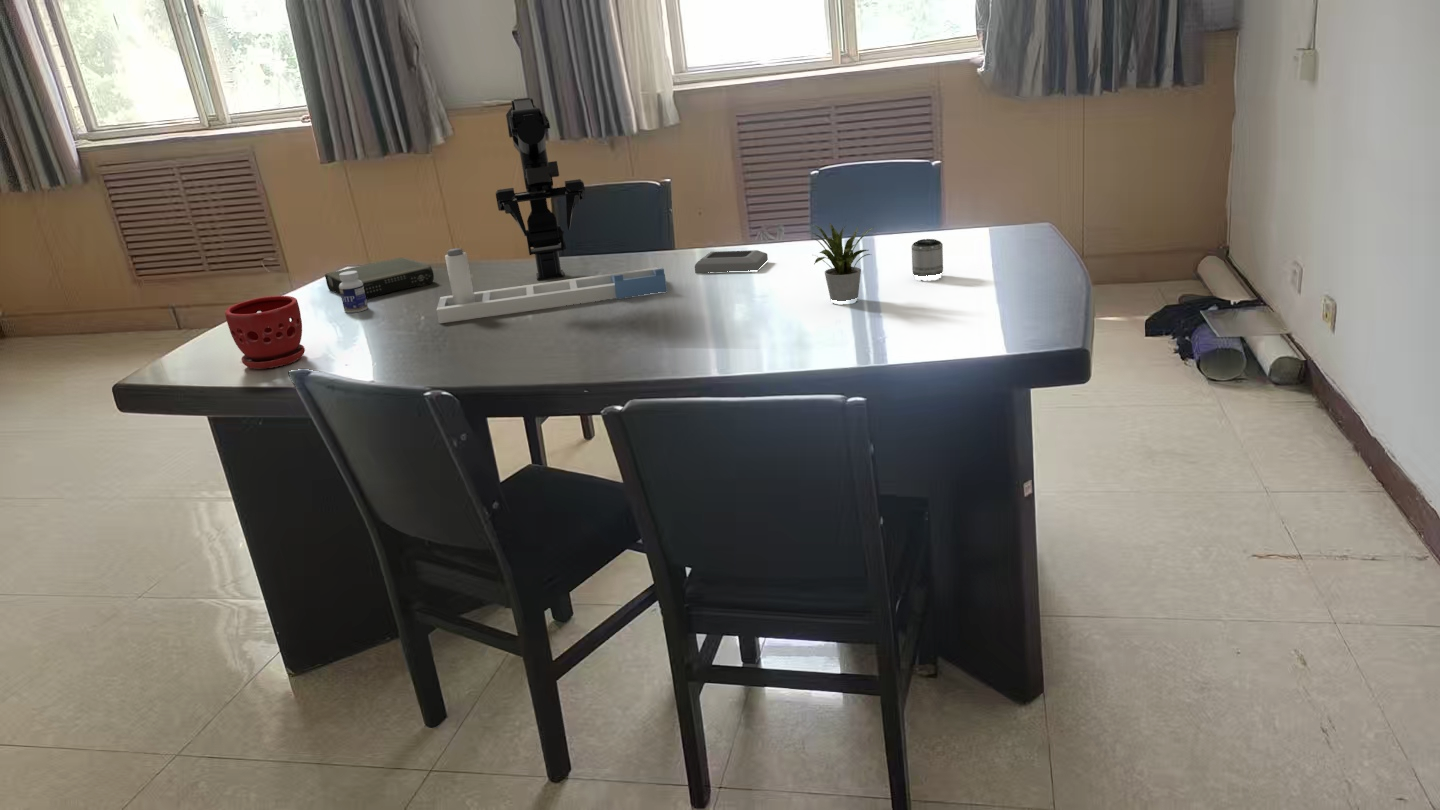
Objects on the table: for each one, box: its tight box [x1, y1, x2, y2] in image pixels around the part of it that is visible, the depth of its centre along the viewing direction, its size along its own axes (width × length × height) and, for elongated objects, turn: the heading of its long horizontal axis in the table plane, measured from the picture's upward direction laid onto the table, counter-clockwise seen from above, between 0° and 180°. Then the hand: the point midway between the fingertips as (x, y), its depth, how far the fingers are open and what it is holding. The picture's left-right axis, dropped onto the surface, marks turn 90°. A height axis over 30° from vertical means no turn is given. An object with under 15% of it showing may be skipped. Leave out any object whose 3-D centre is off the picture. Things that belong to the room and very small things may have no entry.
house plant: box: [808, 219, 876, 301], centre depth 197 cm, size 14×14×16 cm
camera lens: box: [911, 238, 944, 276], centre depth 209 cm, size 6×6×8 cm
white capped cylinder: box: [444, 247, 475, 305], centre depth 218 cm, size 4×4×14 cm
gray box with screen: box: [694, 249, 769, 274], centre depth 236 cm, size 10×4×15 cm
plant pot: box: [224, 295, 306, 370], centre depth 196 cm, size 13×13×12 cm
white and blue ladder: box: [436, 266, 668, 324], centre depth 222 cm, size 13×49×5 cm, turn 101°
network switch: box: [324, 257, 435, 300], centre depth 255 cm, size 23×23×5 cm
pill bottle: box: [339, 271, 369, 314], centre depth 232 cm, size 5×5×9 cm
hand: (547, 232), depth 216 cm, fingers open, 9 cm apart
